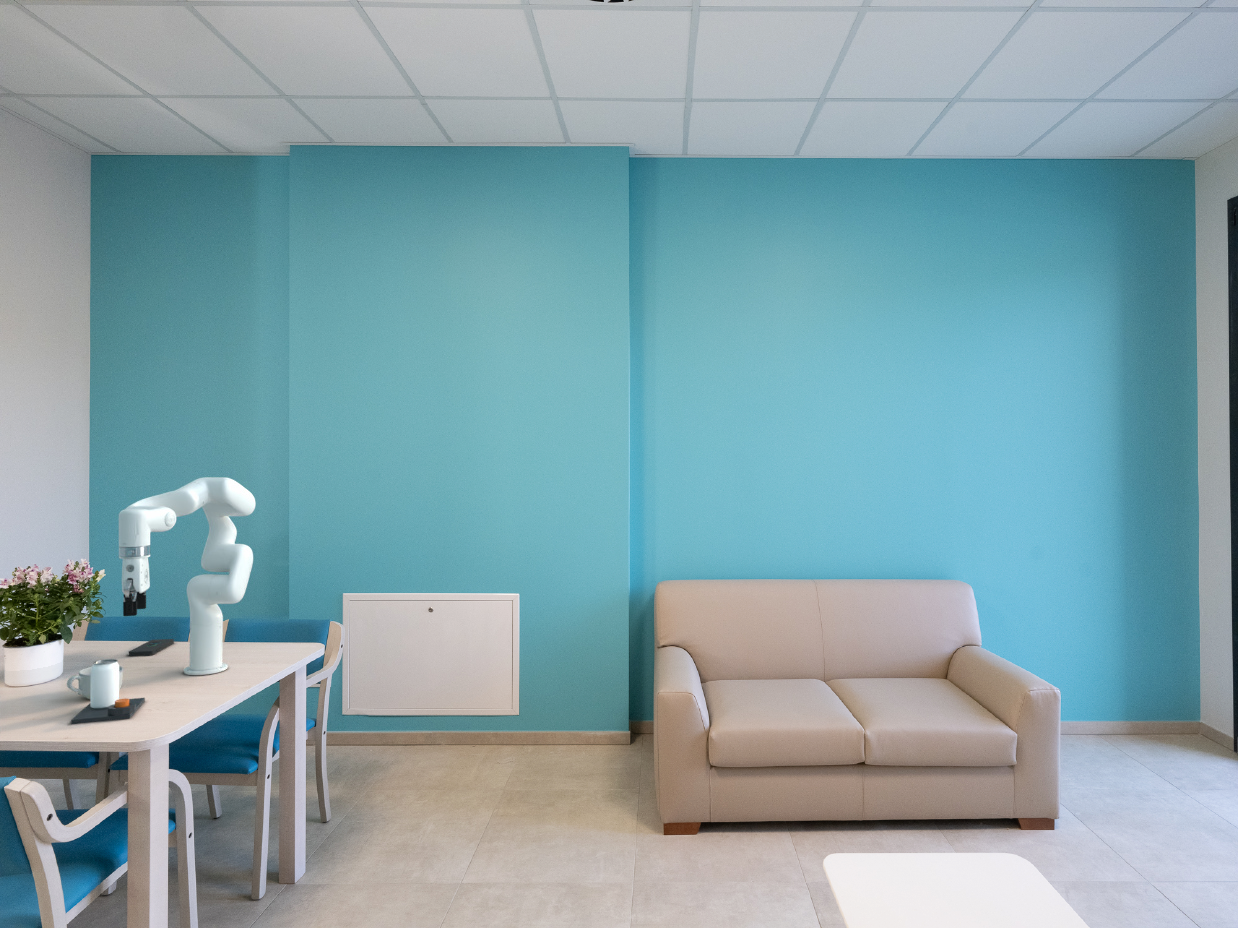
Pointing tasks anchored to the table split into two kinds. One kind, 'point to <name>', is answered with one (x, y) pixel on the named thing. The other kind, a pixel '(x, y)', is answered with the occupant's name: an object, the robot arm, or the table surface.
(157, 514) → the robot arm
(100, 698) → the can
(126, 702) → the button
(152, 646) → the smart home device
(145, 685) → the table surface
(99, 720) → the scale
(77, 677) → the teacup
